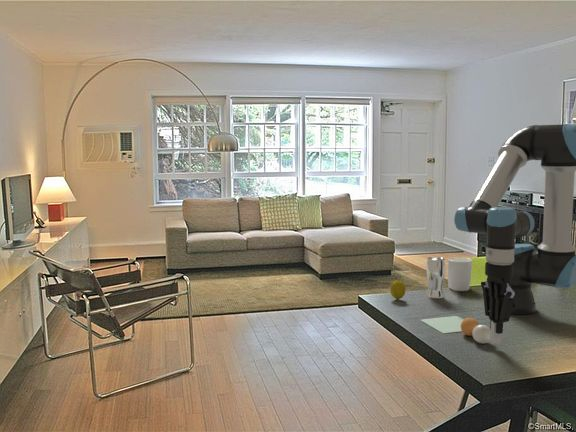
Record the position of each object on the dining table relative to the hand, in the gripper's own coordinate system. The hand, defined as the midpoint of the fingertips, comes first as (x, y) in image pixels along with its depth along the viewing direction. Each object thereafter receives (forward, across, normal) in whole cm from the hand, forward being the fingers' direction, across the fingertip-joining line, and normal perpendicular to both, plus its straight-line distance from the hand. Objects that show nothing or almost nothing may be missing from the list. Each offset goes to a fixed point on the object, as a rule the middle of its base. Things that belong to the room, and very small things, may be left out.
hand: (495, 342), depth 160 cm
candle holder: (+2, -62, +30) cm, 69 cm away
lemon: (+2, -54, -2) cm, 54 cm away
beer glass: (+2, -54, +14) cm, 56 cm away
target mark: (+2, -23, 0) cm, 23 cm away
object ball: (-1, -12, 0) cm, 12 cm away
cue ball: (-1, -6, -1) cm, 6 cm away
